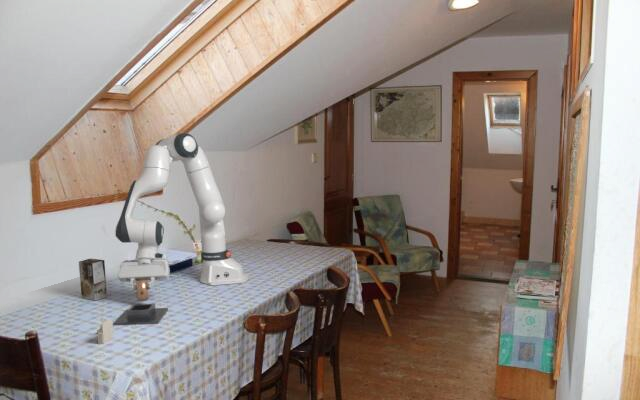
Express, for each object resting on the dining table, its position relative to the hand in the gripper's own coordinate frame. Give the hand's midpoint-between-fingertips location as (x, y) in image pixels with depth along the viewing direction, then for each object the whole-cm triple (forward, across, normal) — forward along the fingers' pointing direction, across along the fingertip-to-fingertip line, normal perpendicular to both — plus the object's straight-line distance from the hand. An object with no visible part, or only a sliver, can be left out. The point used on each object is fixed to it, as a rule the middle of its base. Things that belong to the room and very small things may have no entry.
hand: (141, 289), depth 225 cm
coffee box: (-5, -24, +15) cm, 29 cm away
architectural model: (+32, -2, -22) cm, 39 cm away
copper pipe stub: (+3, 0, +4) cm, 5 cm away
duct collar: (+15, +4, -5) cm, 16 cm away
